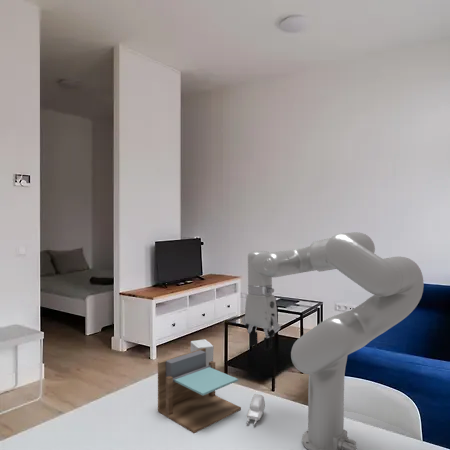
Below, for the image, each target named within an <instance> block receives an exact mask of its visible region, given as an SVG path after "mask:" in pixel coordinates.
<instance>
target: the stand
mask: <svg viewBox="0 0 450 450" xmlns="http://www.w3.org/2000/svg"><path fill="white" fill-rule="evenodd" d="M199 350H201V351H204V352H206V348H203V349H199ZM199 350H196V351H199ZM196 351H193V352H196ZM193 352H187V353H184V354H181V355H178V356H177V355H176V356H174V357H170V358H167V359H165V360H161V361H158V362H157V412H158V413H159V414H161V415H163V416H164V417H165V418H168V419H170V420H171V421H173V422H174V423H176V424H178V426H179V425H180V426H181V427H183V428H185V429H186V430H188V431H189V432H191V433H193V434H195V433H197V432H199V431H202V430H203V429H205V428H208V427H210V426H212V425H214V424H216V423H217V422H220V421H221V420H224V419H226V418H227V417H228V418H229V416H231V415H233V414H235V413H237V412H239V411H241V410H242V407H241V406H239V405H236V404H234V403H232V402H230V401H228V400H227V399H224V398H222V397H220V396H218V395H216V390H215V391H213V392H210V393H208V394H206V395H201V394H199V393H197V392H195V391H193V390H190V389H188V388H186V387H184V386H182V385H180V384H178V383H176V382H173V377H171V376H168V377H166V361H167V360H170V359H173V358H176V357H180V356H183V355H186V354H189V353H193ZM209 365H210V366H211V368H213V369H215V370H216V361H214V360H213V361H211V362H209Z"/></svg>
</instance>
